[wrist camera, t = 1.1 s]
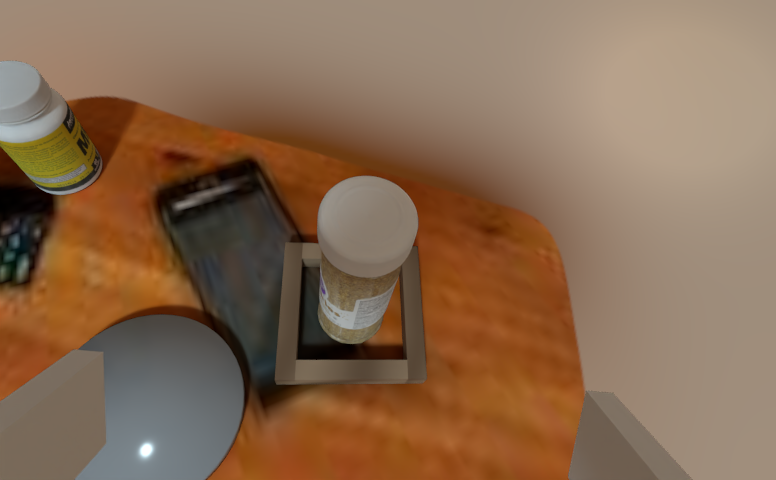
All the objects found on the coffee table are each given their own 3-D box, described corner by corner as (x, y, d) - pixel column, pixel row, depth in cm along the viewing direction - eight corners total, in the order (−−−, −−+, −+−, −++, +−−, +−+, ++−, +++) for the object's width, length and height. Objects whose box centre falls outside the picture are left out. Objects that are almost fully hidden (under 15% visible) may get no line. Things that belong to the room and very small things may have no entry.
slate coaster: (19, 518, 25) (8, 519, 24) (77, 318, 30) (69, 313, 29) (234, 509, 26) (231, 510, 25) (254, 320, 31) (252, 315, 30)
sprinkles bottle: (307, 298, 33) (300, 190, 21) (366, 274, 34) (391, 159, 22) (334, 358, 31) (344, 276, 19) (395, 329, 32) (438, 237, 21)
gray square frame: (276, 384, 30) (274, 379, 28) (286, 251, 34) (285, 242, 33) (422, 383, 31) (426, 378, 30) (414, 254, 35) (417, 246, 34)
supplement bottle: (114, 178, 35) (60, 95, 28) (47, 207, 33) (-30, 126, 26) (89, 135, 37) (31, 45, 29) (23, 160, 35) (-56, 72, 27)
